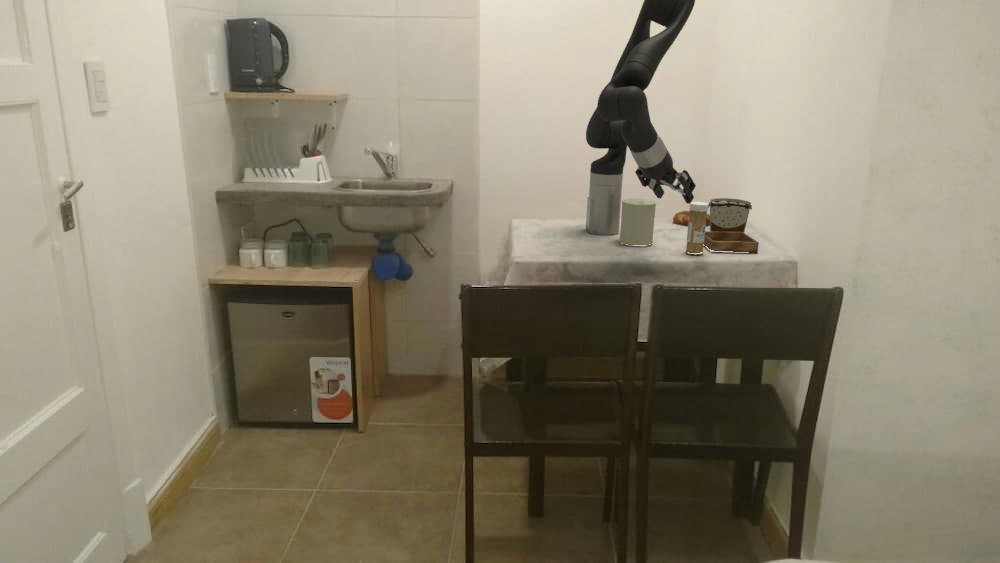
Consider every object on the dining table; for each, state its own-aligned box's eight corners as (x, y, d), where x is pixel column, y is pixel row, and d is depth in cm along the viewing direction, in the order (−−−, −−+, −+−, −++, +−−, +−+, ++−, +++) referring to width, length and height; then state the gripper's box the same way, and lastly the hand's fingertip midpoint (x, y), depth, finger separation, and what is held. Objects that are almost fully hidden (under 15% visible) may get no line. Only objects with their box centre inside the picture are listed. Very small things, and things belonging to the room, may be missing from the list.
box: (711, 252, 192) (712, 241, 191) (698, 241, 204) (699, 231, 203) (757, 253, 192) (758, 242, 191) (741, 242, 204) (742, 231, 203)
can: (625, 247, 196) (628, 203, 192) (614, 239, 205) (617, 196, 201) (658, 246, 197) (661, 202, 194) (645, 238, 206) (649, 196, 203)
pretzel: (677, 227, 222) (678, 215, 221) (668, 220, 232) (669, 208, 231) (716, 228, 222) (717, 216, 221) (705, 220, 233) (707, 209, 232)
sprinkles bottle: (700, 256, 188) (705, 205, 184) (682, 254, 190) (687, 203, 186) (705, 253, 192) (710, 202, 188) (687, 250, 194) (692, 200, 190)
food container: (744, 232, 217) (748, 198, 214) (748, 236, 211) (752, 202, 208) (701, 230, 218) (705, 197, 215) (705, 235, 212) (708, 200, 209)
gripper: (684, 145, 165) (707, 190, 175) (634, 139, 175) (659, 182, 186) (668, 170, 163) (693, 215, 174) (618, 163, 173) (644, 205, 184)
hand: (675, 198), depth 180 cm, fingers open, 8 cm apart
